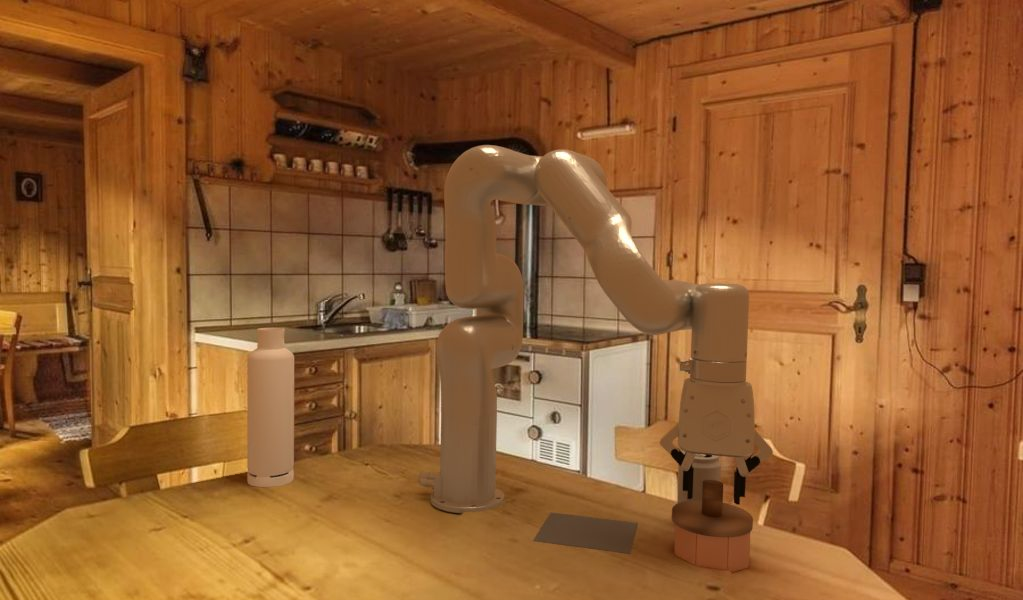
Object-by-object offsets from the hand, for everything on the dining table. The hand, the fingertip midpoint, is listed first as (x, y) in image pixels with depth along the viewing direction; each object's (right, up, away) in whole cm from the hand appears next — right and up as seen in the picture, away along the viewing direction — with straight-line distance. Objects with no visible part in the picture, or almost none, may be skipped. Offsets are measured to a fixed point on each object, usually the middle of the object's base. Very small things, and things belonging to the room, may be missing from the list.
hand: (713, 497), depth 98 cm
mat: (-17, -8, +7) cm, 20 cm away
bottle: (-73, -6, +30) cm, 79 cm away
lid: (0, -4, 0) cm, 4 cm away
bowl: (0, -9, 0) cm, 9 cm away
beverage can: (+1, -8, +11) cm, 13 cm away
